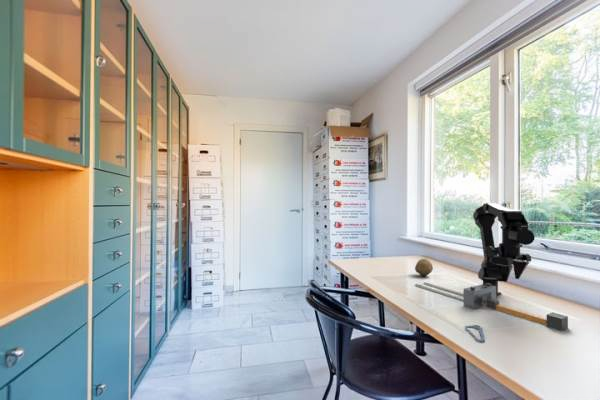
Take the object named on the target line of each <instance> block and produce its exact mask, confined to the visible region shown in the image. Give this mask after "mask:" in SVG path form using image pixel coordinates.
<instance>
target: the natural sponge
mask: <svg viewBox="0 0 600 400" xmlns="http://www.w3.org/2000/svg"><path fill="white" fill-rule="evenodd" d="M433 270H434V267H433V263H432V262H431V261H430V260H428V259H427V258H420V259H419V260H418V261H417V263H416V265H415V267H414V271H415V272H416V273H417V274H419V275H420V276H422V277H427V276H428V275H429V274H431V273H432V272H433Z"/></svg>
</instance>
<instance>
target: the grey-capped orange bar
mask: <svg viewBox="0 0 600 400" xmlns="http://www.w3.org/2000/svg"><path fill="white" fill-rule="evenodd" d="M486 308H489V309H493V310H497V311H501V312H503V313H506V314H507V313H508V314H510V315H513V316H517V317H520V318H522V319H526V320H530V321H532V322H536V323H539V324H542V325H546V327H547V328H551V329H552V330H553V329H554V330H556V331H559V332H564V331H565V330H568V329H569V317H568V316H567V315H565V314H561V313H556V312H553V311H552V312H550V313H547V314H546V318H545V317H541V316H539V315H535V314H531V313H528V312H525V311H522V310H518V309H515V308H512V307H508V306H505V305H502V304H500V300H498V299H496V300H495V299H492V298H490V299H487V303H486Z"/></svg>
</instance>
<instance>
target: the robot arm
mask: <svg viewBox="0 0 600 400" xmlns="http://www.w3.org/2000/svg"><path fill="white" fill-rule="evenodd" d="M472 218H473V220H474V223H475V225H476V226H477V228H479V232H480V238H481V243H482V244H481V245H482V251H483V258H484V259H483V260H482V262H481V264H480V269H479V270H478V273H477V277H478V279H479V280H481V281H482V284H486V283H491V285H494V286H496V296H499V295H503V293H502V292H500V291H499V282H503V283H507V282H508V280H509V277H510V274H511V272H512V269H513V273H514V278H515V279H516V280H519V279H520V278H521V276H522V275H523V273H524V271H525V269H527V266H528V265H529V264H530V262H532V256H531V255H530V254H529V253H523V252H521V248H523V245H525V246H527V245H531V244H532V243H533V242H534V241H535V237H536V236H535V235H534V233H533V231H531V230H530V229H529V227H530V226H529V222H528V221H527V218H526V217H525V215H524V213H523V211H522V210H520V209H509V208H506V207H505V206H502V205H499V204H498V203H496V202H485V203H483V204H482V205H481V206H480V207H478V208H476V209H475V210H474V212H473V215H472ZM495 219H497V220H498V222H499V223H500V224H501V226H499V227H500V229H501V242H500V243H498V246H496V247H495V245H496V244H495V240H494V234H493V226H494V224H495V222H496V220H495Z"/></svg>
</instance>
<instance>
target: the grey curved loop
mask: <svg viewBox="0 0 600 400" xmlns="http://www.w3.org/2000/svg"><path fill="white" fill-rule="evenodd" d="M464 329H465V331H466V332H468V334H469V335H471V337H473V338H474V339H473V340H475V341H476V342H478V343H479V344H480V343H485V342H486V341H485V340H486V339H485V333H484V331H483V327H481V325H478V324H473V325H465V326H464ZM470 329H475V330H478V331H479V334H480V338H481V339H479V338H478V337H477V336H476V335H475V334H474V332H472V331H471V330H470Z"/></svg>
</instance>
